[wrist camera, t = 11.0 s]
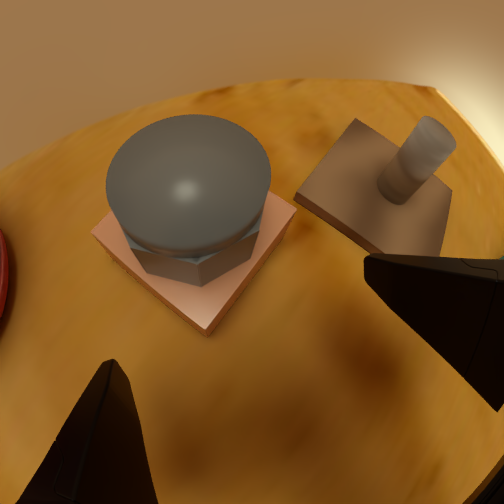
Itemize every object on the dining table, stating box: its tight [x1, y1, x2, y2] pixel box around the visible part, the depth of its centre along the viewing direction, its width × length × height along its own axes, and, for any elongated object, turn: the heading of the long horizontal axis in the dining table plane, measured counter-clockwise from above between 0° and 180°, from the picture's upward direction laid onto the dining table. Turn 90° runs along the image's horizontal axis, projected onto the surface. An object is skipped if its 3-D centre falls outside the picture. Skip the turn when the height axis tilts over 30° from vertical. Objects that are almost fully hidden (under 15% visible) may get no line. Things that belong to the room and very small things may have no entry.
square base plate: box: [293, 116, 456, 257], centre depth 18 cm, size 12×12×8 cm
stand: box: [91, 190, 297, 338], centre depth 16 cm, size 8×8×4 cm
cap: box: [106, 115, 271, 287], centre depth 12 cm, size 7×7×4 cm
